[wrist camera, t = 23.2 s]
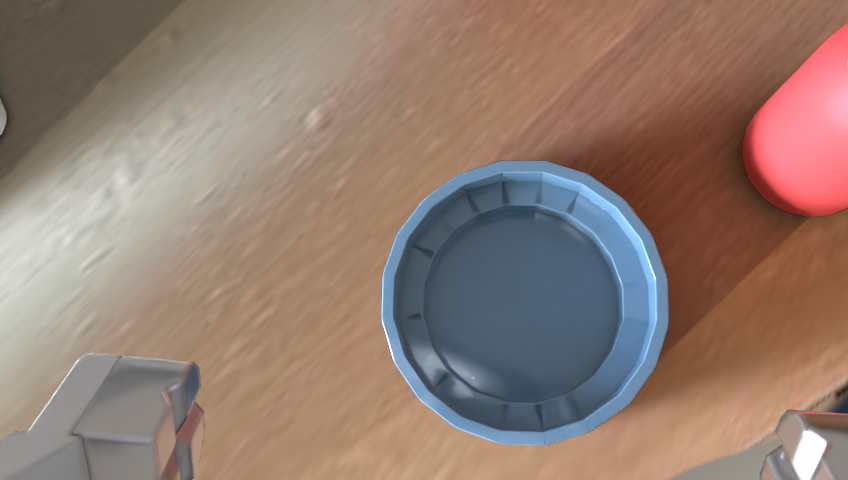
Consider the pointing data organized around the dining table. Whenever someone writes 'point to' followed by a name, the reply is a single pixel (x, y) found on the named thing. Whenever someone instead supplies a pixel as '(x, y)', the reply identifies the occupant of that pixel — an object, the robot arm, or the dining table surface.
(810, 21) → the dining table surface
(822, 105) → the beer can
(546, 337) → the bowl
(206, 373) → the dining table surface
